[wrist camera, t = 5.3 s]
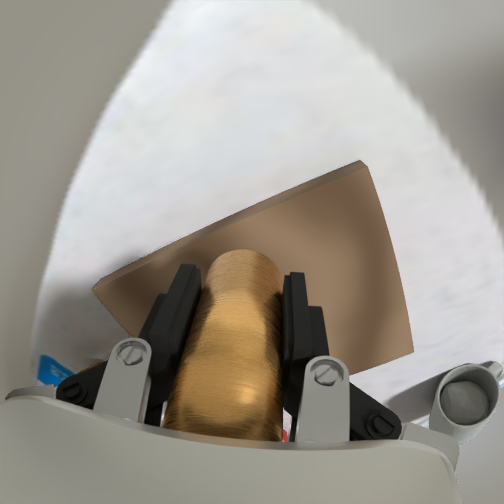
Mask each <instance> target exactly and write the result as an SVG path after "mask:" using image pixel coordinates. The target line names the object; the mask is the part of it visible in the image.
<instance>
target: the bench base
mask: <svg viewBox="0 0 504 504" xmlns="http://www.w3.org/2000/svg"><path fill="white" fill-rule="evenodd" d="M241 249H243V250H252V251H256V252H259V253H261V254H263V255H265V256H267V257H268V258H269V259H271V260H272V261H273V262H274V263H275V264H276V266H277V267H278V269H279V271H280V273H281V277H282V291H283V283H284V276H285V275H290V272H304V274H305V281H306V289H307V298H308V306H321V307H322V309H323V315H324V321H325V327H326V334H327V340H328V347H329V354H330V356H331V357H335V358H337V359H339V360H340V361H342V362H343V363H344V364H345V365H346V367H347V369H348V372H349V376H350V375H353V374H356V373H359V372H362V371H365V370H368V369H371V368H373V367H376V366H379V365H382V364H384V363H387V362H390V361H392V360H395V359H398V358H400V357H403V356H405V355H408V354H410V353H413V352H414V348H413V341H412V335H411V329H410V323H409V317H408V312H407V307H406V302H405V297H404V292H403V287H402V283H401V278H400V274H399V270H398V266H397V261H396V257H395V254H394V250H393V246H392V242H391V238H390V235H389V231H388V228H387V224H386V221H385V218H384V214H383V211H382V208H381V205H380V201H379V198H378V195H377V192H376V189H375V186H374V183H373V180H372V177H371V175H370V172H369V169H368V166H366V165H365V164H364V163H363V162H362V161H361V160H359V161H356V162H354V163H351V164H349V165H346V166H344V167H341V168H339V169H337V170H334V171H332V172H329V173H327V174H324V175H322V176H320V177H317V178H315V179H313V180H310V181H308V182H305V183H303V184H301V185H298V186H296V187H294V188H291V189H289V190H287V191H285V192H282V193H280V194H278V195H275V196H273V197H271V198H269V199H266V200H264V201H262V202H260V203H257V204H255V205H253V206H251V207H248V208H246V209H244V210H242V211H240V212H237V213H235V214H233V215H231V216H229V217H226V218H224V219H222V220H220V221H218V222H216V223H213V224H211V225H209V226H207V227H205V228H203V229H201V230H199V231H196V232H194V233H192V234H190V235H188V236H186V237H184V238H182V239H180V240H178V241H176V242H174V243H171V244H169V245H167V246H165V247H163V248H161V249H159V250H157V251H155V252H153V253H151V254H149V255H147V256H145V257H143V258H141V259H139V260H137V261H135V262H133V263H131V264H129V265H127V266H125V267H123V268H121V269H119V270H117V271H115V272H113V273H112V274H110V275H108V276H106V277H104V278H102V279H100V281H99V282H98V283H97V285H96V286H95V287H94V289H93V290H92V291H93V293H94V294H95V295H96V296H97V298H98V299H99V300H100V301H101V302H102V304H103V305H104V306H105V307H106V308H107V310H108V311H109V312H110V313H111V314H112V315H113V317H114V318H115V319H116V320H117V321H118V322H119V324H120V325H121V326H122V327H123V328H124V329H125V330H126V331H127V332H128V334H129V335H130V336H131V337H132V338H135V337H136V338H138V336H139V334H140V331H141V329H142V327H143V325H144V323H145V321H146V319H147V317H148V314H149V312H150V310H151V308H152V306H153V304H154V302H155V300H156V298H157V296H158V295H159V294H160V293H164V294H167V292H168V290H169V288H170V286H171V284H172V281H173V279H174V277H175V275H176V273H177V271H178V269H179V267H180V265H181V263H185V264H195V265H196V268H200V270H201V284H202V289H203V286H204V283H205V280H206V277H207V274H208V271H209V269H210V266H211V265H212V263H213V262H214V261H215V260H216V259H217V258H218V257H219V256H221V255H222V254H224V253H226V252H229V251H233V250H241ZM167 403H168V401H167Z"/></svg>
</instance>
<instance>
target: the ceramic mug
mask: <svg viewBox="0 0 504 504" xmlns="http://www.w3.org/2000/svg"><path fill="white" fill-rule="evenodd" d="M503 369H504V368H503V367H502V366H501V365H500V364H499V363H498V362H494V363H492V364H491V365H490V366H489V367H488V368H486V367H483V366H481V365H477V364H466V365H461V366H458V367H456V368H454V369H452V370H451V371H450V372H448V373H447V374H446V375H445V376H444V377H443V378H442V380H441V382H440V384H439V386H438V388H437V391H436V395H435V399H434V402H433V406H432V409H431V412H430V417H429V429H431V430H434V431H437V432H440V433H443V434H446V435H449V436H451V437H453V438H454V439H455V440H456V441H457V443H458V445H462V444H464V443H466V442H468V441H470V440H471V439H472V438H474V437H475V436H476V434H477V433H478V432H479V431H480V430H481V429H482V428H483V426H484V425H485V424H486V423H487V422H488V421H489V420H490V419H491V417H492V416H493V414H494V413H495V411H496V409H497V407H498V405H499V401H500V385H499V382H498V379H499V377H500V376H501V374H502V372H503Z"/></svg>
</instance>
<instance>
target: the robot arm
mask: <svg viewBox="0 0 504 504" xmlns="http://www.w3.org/2000/svg"><path fill="white" fill-rule="evenodd" d="M201 292H202V284H201V270H200V268H196V265H195V264H185V263H181V265H180V267H179V269H178V271H177V273H176V275H175V277H174V279H173V281H172V284H171V286H170V288H169V290H168V292H167V294H164V293H160V294H159V295H158V296H157V298H156V300H155V302H154V304H153V306H152V308H151V310H150V312H149V314H148V317H147V319H146V321H145V323H144V325H143V327H142V329H141V331H140V334H139V336H138V338H136V337H135V338H127V339H123V340H121V341H120V342H118V343H117V344H116V345H115V346H114V348H113V349H112V351H111V354H110V357H109V360H108V361H106V362H103V363H101V364H99V365H96V366H94V367H92V368H89V369H87V370H85V371H82V372H80V373H78V374H75V375H73V376H71V377H68V378H66V379H65V380H63V381H62V382H61V383H60V384H59V386H57V387H56V386H55V385H54V384H51V385H44V386H37V387H29V388H21V389H15V390H12V391H11V392H10V393H9V394H8V395H7V396H6V398H5V401H4V402H3V403H2V404H1V405H0V504H463V503H462V498H461V493H460V489H459V485H458V481H457V478H456V475H455V468H456V464H457V460H458V455H459V445H458V443H457V441H456V440H455V439H454V438H453V437H451V436H449V435H446V434H443V433H440V432H437V431H434V430H431V429H428V428H425V427H422V426H419V425H416V424H413V423H410V422H407V424H404V423H402V422H401V421H400V419H399V418H398V416H397V415H396V414H395V413H393V412H392V411H391V410H389V409H388V408H386V407H385V406H383V405H382V404H380V403H379V402H377V401H376V400H375V399H373V398H372V397H370V396H369V395H367V394H366V393H365V392H363V391H362V390H360V389H359V388H357V387H356V386H355V385H353V384H352V383H350V382H349V372H348V369H347V367H346V365H345V364H344V363H343V362H342V361H340V360H339V359H337V358H335V357H331V356H330V354H329V347H328V340H327V334H326V327H325V321H324V315H323V309H322V307H321V306H308V298H307V289H306V281H305V274H304V272H290V275H285V276H284V283H283V291H282V338H283V407H284V410H285V411H287V412H288V413H289V414H290V415H291V421H290V427H289V434H288V440H287V442H274V441H257V440H244V439H233V438H224V437H215V436H208V435H201V434H194V433H188V432H182V431H176V430H171V429H166V428H161V424H162V421H163V417H164V414H165V410H166V407H167V401H168V400H169V396H170V393H171V389H172V386H173V383H174V379H175V376H176V372H177V369H178V366H179V362H180V359H181V356H182V353H183V349H184V346H185V343H186V340H187V336H188V333H189V330H190V327H191V324H192V320H193V317H194V314H195V311H196V308H197V305H198V302H199V299H200V296H201Z"/></svg>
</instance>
